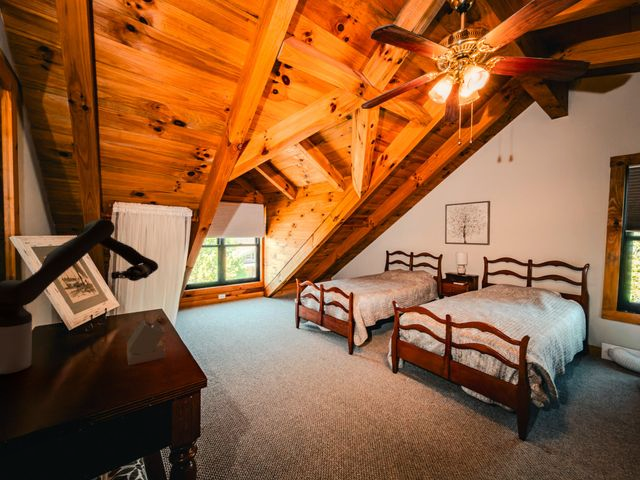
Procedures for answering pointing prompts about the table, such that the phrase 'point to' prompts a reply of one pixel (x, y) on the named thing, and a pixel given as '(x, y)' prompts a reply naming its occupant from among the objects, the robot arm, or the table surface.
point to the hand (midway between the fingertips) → (124, 276)
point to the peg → (159, 323)
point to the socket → (145, 344)
